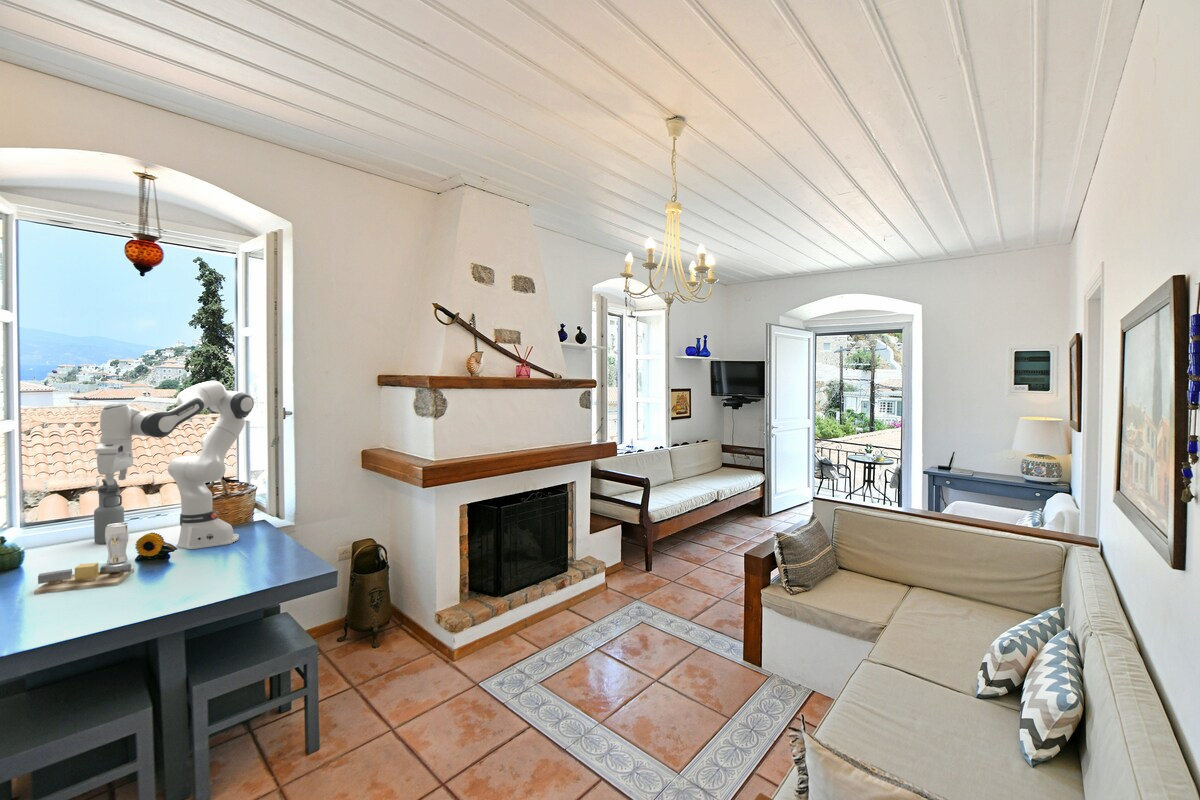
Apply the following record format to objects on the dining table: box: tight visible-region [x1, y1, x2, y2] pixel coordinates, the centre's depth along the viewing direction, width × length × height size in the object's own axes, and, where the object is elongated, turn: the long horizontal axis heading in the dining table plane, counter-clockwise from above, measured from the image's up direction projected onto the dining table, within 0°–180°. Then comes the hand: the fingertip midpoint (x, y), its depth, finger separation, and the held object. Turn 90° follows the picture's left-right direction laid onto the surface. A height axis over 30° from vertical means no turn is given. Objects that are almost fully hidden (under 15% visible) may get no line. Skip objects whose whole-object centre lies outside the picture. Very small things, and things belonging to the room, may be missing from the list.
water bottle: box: [93, 478, 125, 545], centre depth 232 cm, size 10×10×28 cm
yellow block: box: [74, 562, 100, 580], centre depth 188 cm, size 5×4×5 cm
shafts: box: [37, 563, 132, 585], centre depth 187 cm, size 24×5×3 cm, turn 114°
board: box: [33, 568, 134, 595], centre depth 188 cm, size 22×14×2 cm, turn 114°
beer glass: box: [105, 522, 130, 565], centre depth 208 cm, size 7×7×15 cm
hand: (116, 482), depth 199 cm, fingers open, 8 cm apart
